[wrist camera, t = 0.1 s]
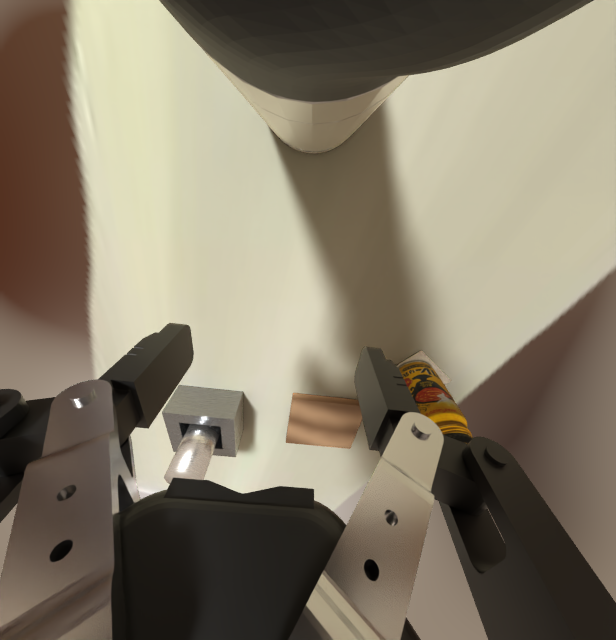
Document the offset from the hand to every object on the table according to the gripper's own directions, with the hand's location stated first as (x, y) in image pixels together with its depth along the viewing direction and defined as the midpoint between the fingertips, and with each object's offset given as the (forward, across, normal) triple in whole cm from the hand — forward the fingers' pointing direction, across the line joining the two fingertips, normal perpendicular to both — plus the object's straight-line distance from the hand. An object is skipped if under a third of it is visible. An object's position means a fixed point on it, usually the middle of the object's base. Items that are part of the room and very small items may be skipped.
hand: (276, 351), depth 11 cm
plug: (+17, +11, +28) cm, 35 cm away
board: (+18, -8, +28) cm, 34 cm away
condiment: (+18, -20, +16) cm, 31 cm away
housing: (+18, +11, +28) cm, 35 cm away
